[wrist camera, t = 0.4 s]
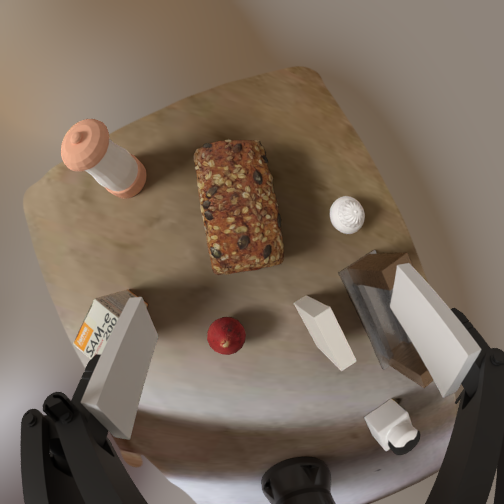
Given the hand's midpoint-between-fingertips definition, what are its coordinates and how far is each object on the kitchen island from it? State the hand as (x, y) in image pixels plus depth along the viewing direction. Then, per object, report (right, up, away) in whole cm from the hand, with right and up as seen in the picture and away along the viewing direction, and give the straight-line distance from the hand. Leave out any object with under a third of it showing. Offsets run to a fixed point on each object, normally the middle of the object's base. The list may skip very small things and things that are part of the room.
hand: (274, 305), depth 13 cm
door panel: (+9, -9, +32) cm, 35 cm away
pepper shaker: (-23, +16, +31) cm, 41 cm away
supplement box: (-22, -8, +30) cm, 38 cm away
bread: (-3, +9, +32) cm, 34 cm away
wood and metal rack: (+22, -9, +33) cm, 41 cm away
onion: (-5, -10, +31) cm, 33 cm away
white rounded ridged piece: (+14, +9, +33) cm, 37 cm away
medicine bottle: (+27, -33, +33) cm, 53 cm away
